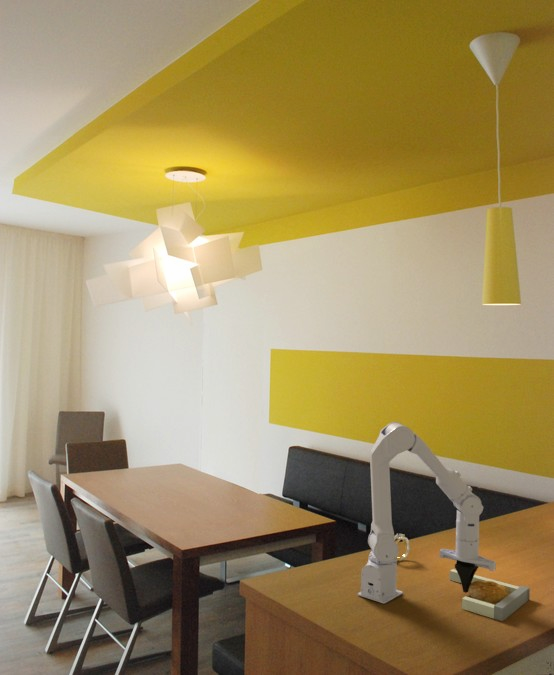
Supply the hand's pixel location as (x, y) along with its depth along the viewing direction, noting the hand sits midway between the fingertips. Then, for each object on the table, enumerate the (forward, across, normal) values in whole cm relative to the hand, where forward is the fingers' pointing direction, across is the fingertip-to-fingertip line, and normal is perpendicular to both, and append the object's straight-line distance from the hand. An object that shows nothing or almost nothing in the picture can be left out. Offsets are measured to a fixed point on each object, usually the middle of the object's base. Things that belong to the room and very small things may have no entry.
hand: (466, 591), depth 159 cm
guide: (+1, -2, 0) cm, 3 cm away
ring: (+1, +26, -11) cm, 28 cm away
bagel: (+1, -6, -1) cm, 6 cm away
